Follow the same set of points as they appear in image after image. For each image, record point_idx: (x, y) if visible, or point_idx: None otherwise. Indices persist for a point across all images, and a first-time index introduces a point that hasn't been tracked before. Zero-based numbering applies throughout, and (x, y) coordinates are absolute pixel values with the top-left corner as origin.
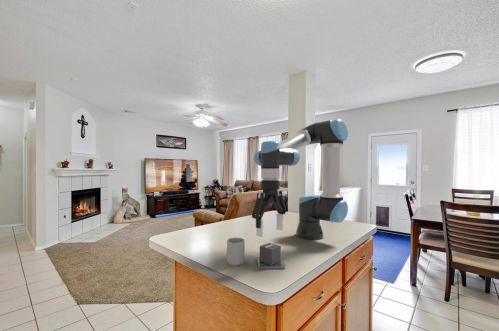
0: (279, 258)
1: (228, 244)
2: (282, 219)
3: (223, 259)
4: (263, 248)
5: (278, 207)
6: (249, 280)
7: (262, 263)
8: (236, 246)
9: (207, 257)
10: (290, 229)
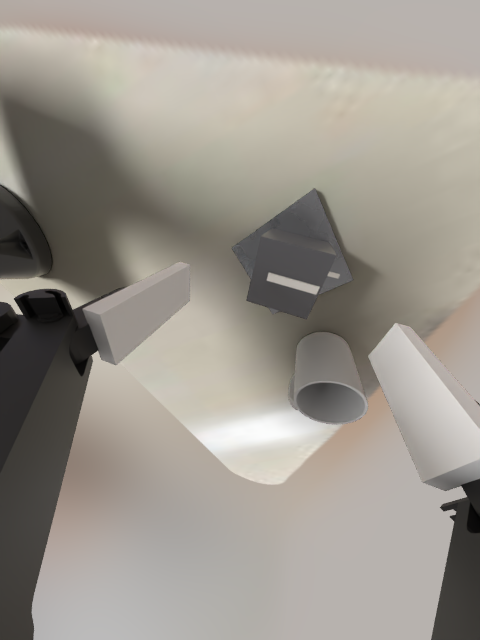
0: (278, 231)
1: (358, 410)
2: (131, 288)
3: None
4: (314, 299)
5: (39, 425)
6: (462, 269)
7: None
8: (361, 386)
9: None
10: None
